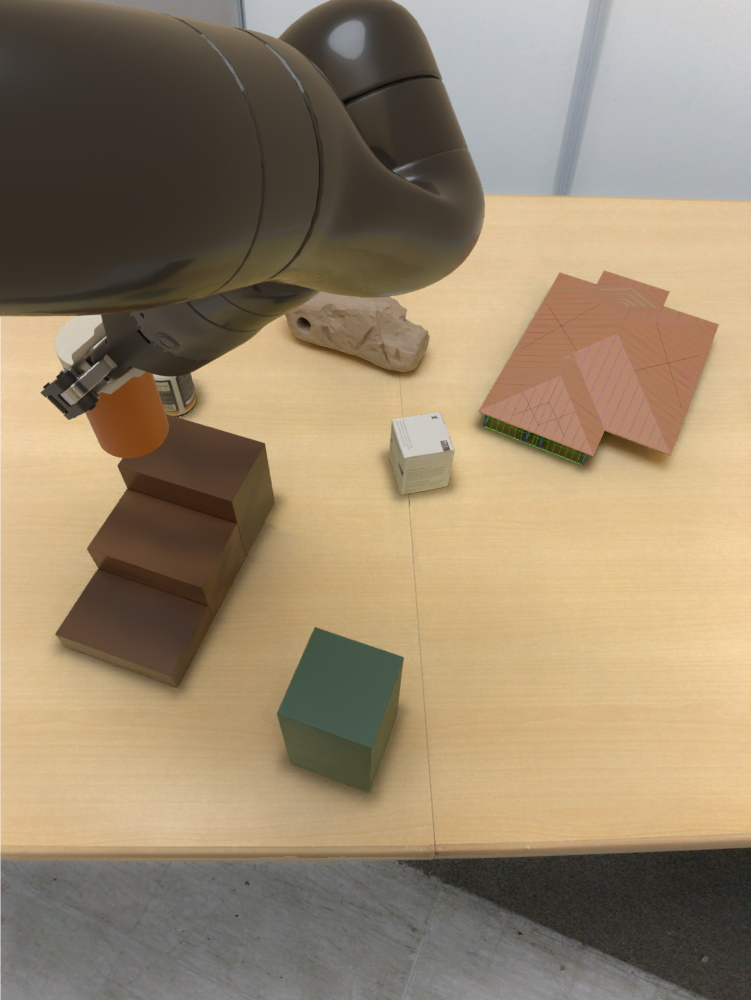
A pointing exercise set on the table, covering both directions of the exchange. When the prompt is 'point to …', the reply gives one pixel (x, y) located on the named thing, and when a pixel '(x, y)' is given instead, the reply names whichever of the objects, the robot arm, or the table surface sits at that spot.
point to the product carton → (421, 452)
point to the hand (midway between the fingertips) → (93, 367)
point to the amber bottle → (118, 400)
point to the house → (602, 366)
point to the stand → (341, 708)
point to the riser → (171, 550)
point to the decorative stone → (361, 329)
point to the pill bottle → (176, 393)
